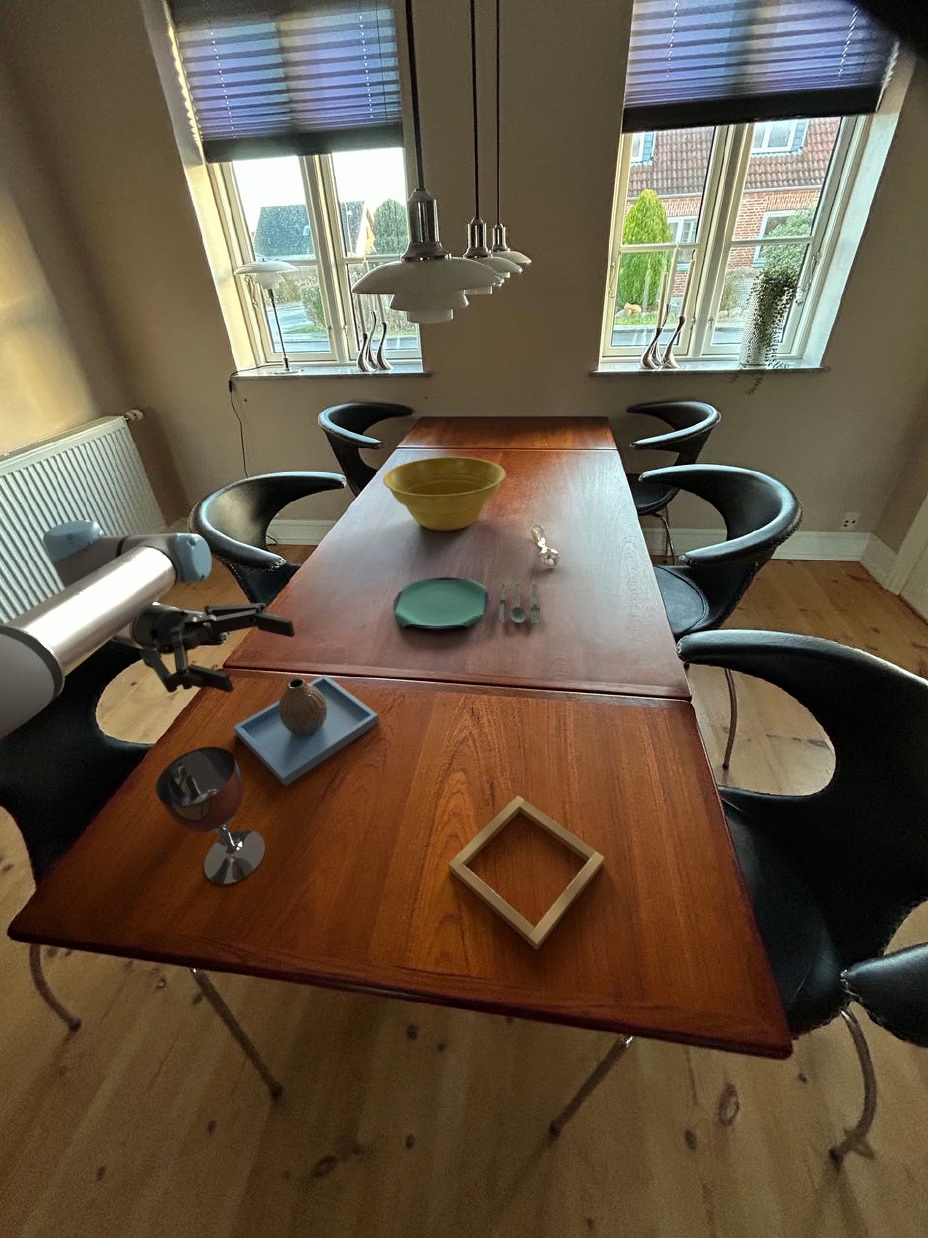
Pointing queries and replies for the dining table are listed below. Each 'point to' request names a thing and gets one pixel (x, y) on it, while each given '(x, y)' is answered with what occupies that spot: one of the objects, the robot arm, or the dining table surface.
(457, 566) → the dining table surface
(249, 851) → the wine glass
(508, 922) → the oak frame
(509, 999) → the dining table surface
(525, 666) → the dining table surface
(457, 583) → the cutlery set
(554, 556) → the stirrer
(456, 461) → the planter bowl
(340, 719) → the blue tray
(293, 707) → the vase
